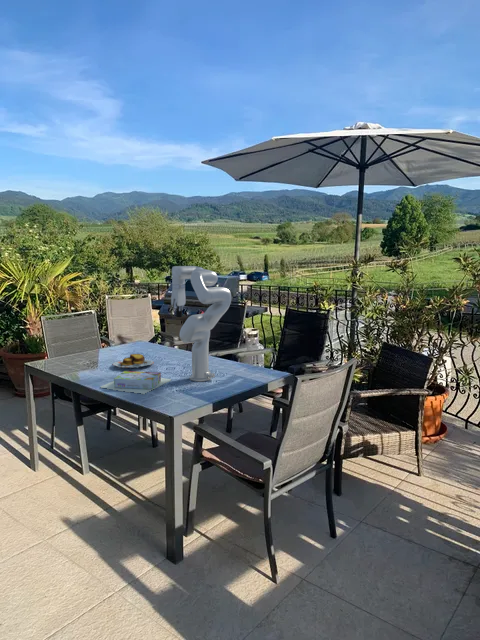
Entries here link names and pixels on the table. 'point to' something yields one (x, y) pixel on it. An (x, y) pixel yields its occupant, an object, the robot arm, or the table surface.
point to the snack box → (137, 380)
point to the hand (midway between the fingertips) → (179, 317)
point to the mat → (135, 390)
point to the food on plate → (133, 361)
